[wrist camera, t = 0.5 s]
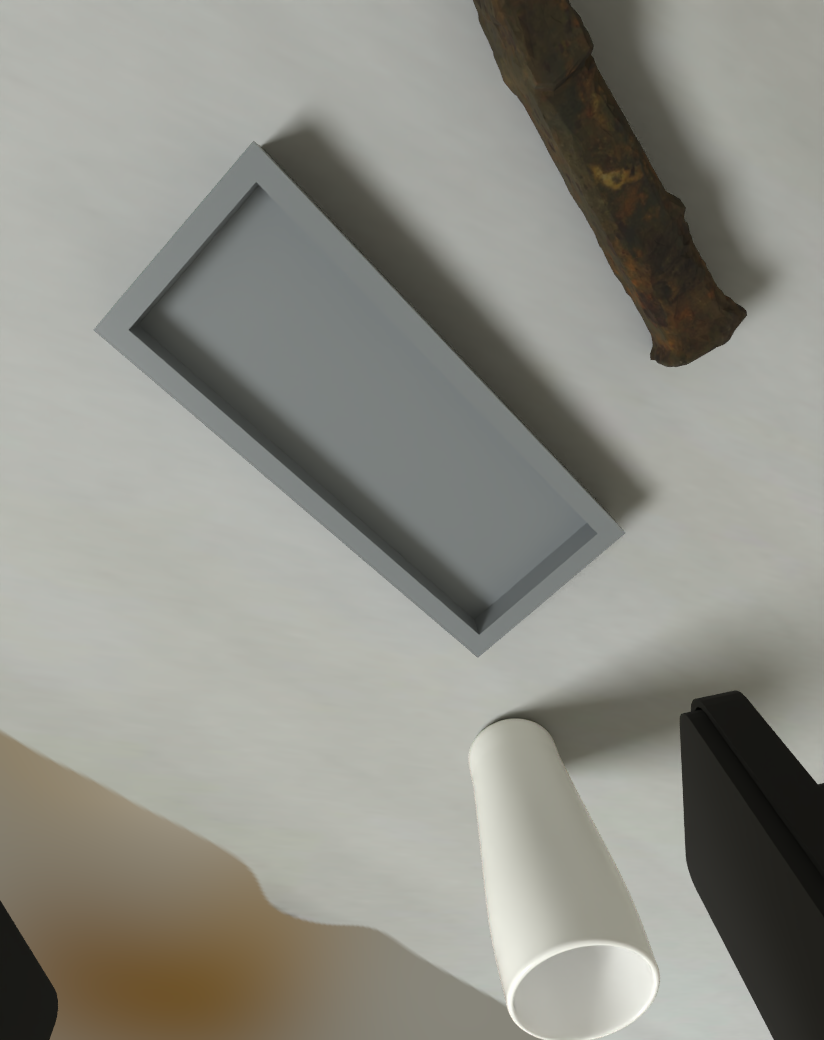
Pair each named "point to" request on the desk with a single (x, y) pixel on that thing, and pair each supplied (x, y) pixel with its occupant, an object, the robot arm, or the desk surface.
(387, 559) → the tray
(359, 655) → the desk surface
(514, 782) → the white tumbler
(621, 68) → the desk surface
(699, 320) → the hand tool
